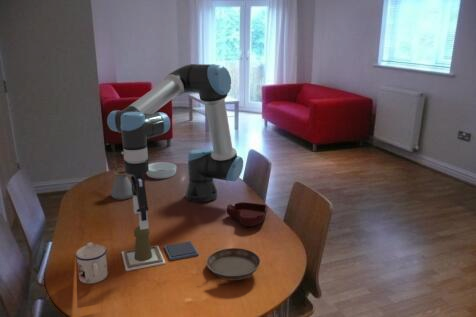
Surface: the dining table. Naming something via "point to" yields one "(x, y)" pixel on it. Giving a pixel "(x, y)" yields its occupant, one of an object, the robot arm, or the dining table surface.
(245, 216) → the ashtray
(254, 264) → the plant saucer
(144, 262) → the board
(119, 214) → the dining table surface
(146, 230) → the olive knob handle
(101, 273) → the teacup with lid
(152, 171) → the cereal bowl
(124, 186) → the coffee pot
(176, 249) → the ink pad
